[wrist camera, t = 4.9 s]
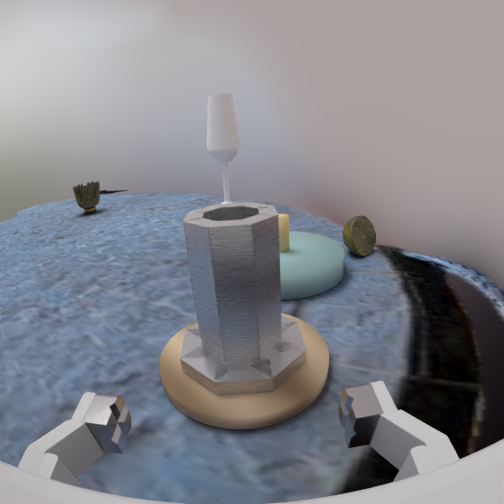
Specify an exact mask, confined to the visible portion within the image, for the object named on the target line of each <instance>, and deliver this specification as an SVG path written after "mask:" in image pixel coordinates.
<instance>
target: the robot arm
mask: <svg viewBox="0 0 504 504" xmlns="http://www.w3.org/2000/svg"><path fill="white" fill-rule="evenodd" d="M341 395H342V399H343V400H342V401H341V402H340V405H339V418H340V422H341V426H343V427H344V428H345V433H344V436H345V439H346V442H347V446H348V448H352V447H358V446H363V445H369V444H370V446H371V447H372V448H374V449H375V450H376V451H377V452H378V453H380V454H381V455H382V456H383V457H384V458H385V459H387V460H388V461H389V462H390V463H391V464H393V465H394V466H395V467H396V468H398V469H399V470H400V471H399V473H398V474H397V476H396V478H395V479H394V481H393V482H392V483H389V484H385V485H381V486H377V487H373V488H369V489H364V490H360V491H355V492H350V493H345V494H340V495H335V496H329V497H323V498H316V499H309V500H301V501H292V502H281V503H268V504H504V439H503V440H501V441H499V442H497V443H495V444H493V445H491V446H489V447H486V448H484V449H482V450H480V451H478V452H476V453H473V454H471V455H469V456H466V457H464V458H462V459H459V457H458V456H457V454H456V452H455V450H454V448H453V446H452V444H451V442H450V440H449V438H448V437H447V436H446V435H444V434H443V433H441V432H439V431H437V430H435V429H434V428H432V427H430V426H428V425H427V424H425V423H423V422H421V421H420V420H418V419H416V418H415V417H413V416H411V415H409V414H408V413H406V412H404V411H403V410H397V408H396V406H395V404H394V402H393V400H392V398H391V396H390V394H389V392H388V390H387V388H386V386H385V384H384V382H383V381H377V382H372V383H366V384H361V385H355V386H349V387H343V389H342V393H341ZM124 403H125V402H124V399H123V397H122V396H118V395H109V394H101V393H92V392H86V393H84V394H83V396H82V398H81V400H80V402H79V405H78V407H77V409H76V411H75V413H74V415H73V417H72V419H71V420H67V421H65V422H64V423H62V424H61V425H59V426H58V427H56V428H55V429H53V430H52V431H50V432H49V433H47V434H46V435H44V436H43V437H41V438H40V439H38V440H37V441H35V442H34V443H32V444H30V445H29V446H28V447H27V449H26V451H25V453H24V455H23V457H22V459H21V461H20V463H19V465H18V468H17V467H14V466H12V465H9V464H7V463H4V462H2V461H0V504H184V503H171V502H161V501H152V500H144V499H137V498H131V497H124V496H119V495H113V494H108V493H103V492H98V491H94V490H89V489H85V488H84V487H83V486H82V485H81V484H80V483H79V481H78V480H77V478H78V477H79V476H80V475H81V474H82V473H83V472H84V471H85V470H86V469H87V468H88V467H89V466H90V465H91V464H92V463H94V462H95V461H96V460H97V459H98V458H99V457H100V456H101V455H102V454H103V453H104V452H112V453H120V454H123V452H124V449H125V445H126V442H127V440H126V438H125V435H127V434H128V433H129V432H130V429H131V416H130V413H129V410H128V409H126V408H125V407H124ZM103 451H104V452H103Z"/></svg>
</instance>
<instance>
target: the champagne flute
mask: <svg viewBox="0 0 504 504" xmlns="http://www.w3.org/2000/svg"><path fill="white" fill-rule="evenodd" d="M239 149H240V144H239V138H238V132H237V125H236V119H235V113H234V107H233V101H232V95H231V94H218V95H212V96H209V97H208V117H207V151H208V153H209V154H210V155H211V157H213V158H214V159H215V160H216V161H217V162H219V163H221V164H222V172H223V186H224V199H225V201H224V202H223V203H221V204H229V203H234V202H232V201H230V191H229V178H228V163H229V162H230V161H231V160H232V159H233V158H234V157H235V156H236V154H237V153H238V151H239Z"/></svg>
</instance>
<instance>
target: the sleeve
mask: <svg viewBox="0 0 504 504" xmlns="http://www.w3.org/2000/svg"><path fill="white" fill-rule="evenodd" d="M183 225H184V233H185V240H186V248H187V255H188V262H189V269H190V276H191V283H192V289H193V296H194V302H195V308H196V314H197V320H198V323H197V324H195V325H193V326H191V327H189V328H187V329H186V331H185V336H184V340H183V345H182V349H181V354H180V362H181V366H182V370H183V372H184V373H186V374H187V375H188V376H190V377H191V378H192V379H194V380H195V381H197V382H198V383H199V384H201V385H202V386H204V387H205V388H207V389H208V390H209V391H211V392H212V393H214V394H215V395H217V396H222V395H241V394H255V393H267V392H274V391H275V390H276V389H277V388H278V387H280V386H281V385H282V384H283V383H284V382H285V381H286V380H287V379H289V378H290V377H291V376H292V375H293V374H294V373H295V372H296V371H298V370H299V369H300V368H301V367H302V366H303V365H304V364H305V363H306V348H305V344H304V341H303V338H302V335H301V331H300V328H299V325H298V322H297V321H295V320H292V319H290V318H287V317H284V316H282V315H281V278H280V245H279V217H278V213H277V211H276V209H275V207H274V206H272V205H265V204H258V203H251V202H243V203H229V204H217V205H212V206H208V207H205V208H201V209H198V210H194V211H191V212H188V214H187V216H186V217H185V219H184V221H183Z"/></svg>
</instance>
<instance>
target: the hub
mask: <svg viewBox="0 0 504 504" xmlns="http://www.w3.org/2000/svg"><path fill="white" fill-rule="evenodd" d="M278 217H279V245H280V278H281V300H288V299H299V298H305V297H310V296H314V295H317V294H320V293H323V292H325V291H327V290H329V289H331V288H333V287H334V286H336V285H337V284H338V283H339V282H340V280H341V279H342V277H343V268H344V249H343V247H342V246H341V245H340V244H339V243H338V242H336V241H335V240H333V239H331V238H328V237H325V236H322V235H318V234H313V233H307V232H296V231H289V215H287V214H278Z"/></svg>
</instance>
